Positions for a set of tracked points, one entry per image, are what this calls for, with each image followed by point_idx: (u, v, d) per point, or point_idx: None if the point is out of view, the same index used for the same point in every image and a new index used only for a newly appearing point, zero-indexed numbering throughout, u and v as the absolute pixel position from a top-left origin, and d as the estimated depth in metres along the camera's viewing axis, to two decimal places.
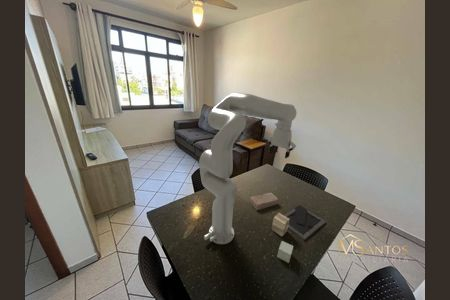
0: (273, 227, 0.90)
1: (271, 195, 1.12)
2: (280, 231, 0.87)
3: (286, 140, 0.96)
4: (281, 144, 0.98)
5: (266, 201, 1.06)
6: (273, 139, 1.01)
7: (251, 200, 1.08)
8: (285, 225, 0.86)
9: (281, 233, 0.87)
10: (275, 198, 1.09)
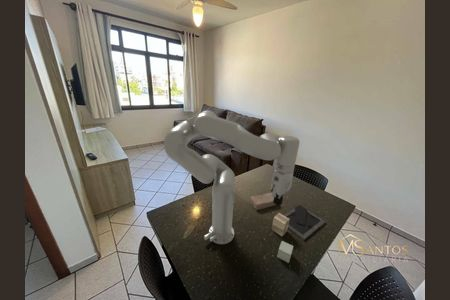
0: (273, 227, 0.90)
1: None
2: (280, 231, 0.87)
3: None
4: (288, 187, 0.74)
5: (266, 201, 1.06)
6: (282, 189, 0.70)
7: (251, 200, 1.08)
8: (285, 225, 0.86)
9: (281, 233, 0.87)
10: None
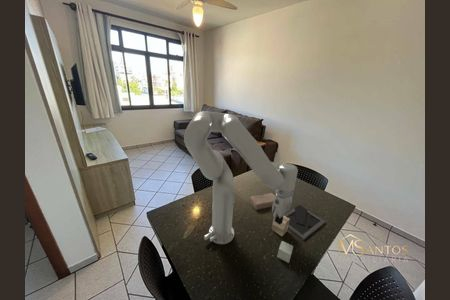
0: (273, 227, 0.90)
1: (272, 195, 1.11)
2: (280, 231, 0.87)
3: (291, 201, 0.82)
4: (288, 208, 0.81)
5: (266, 201, 1.06)
6: (282, 211, 0.77)
7: (251, 199, 1.08)
8: (285, 225, 0.86)
9: (281, 233, 0.87)
10: None
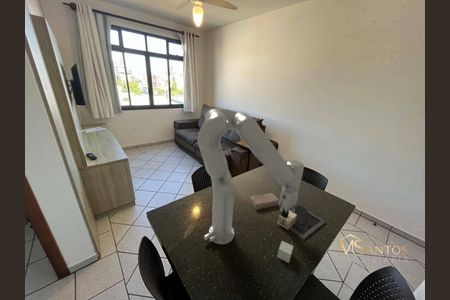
0: None
1: (272, 196, 1.11)
2: (289, 218, 0.90)
3: None
4: (294, 203, 0.85)
5: (266, 201, 1.06)
6: (289, 205, 0.81)
7: (251, 199, 1.08)
8: (294, 218, 0.92)
9: (290, 220, 0.89)
10: (275, 199, 1.08)
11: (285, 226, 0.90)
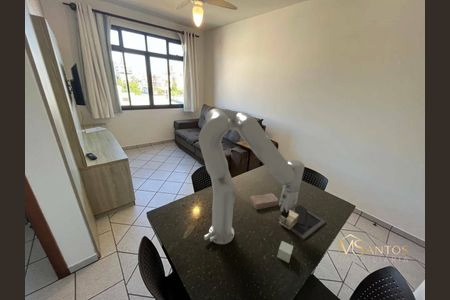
0: None
1: (272, 196, 1.11)
2: (291, 218, 0.90)
3: (297, 195, 0.86)
4: (294, 203, 0.86)
5: (266, 201, 1.06)
6: (289, 205, 0.82)
7: (251, 199, 1.08)
8: (296, 218, 0.92)
9: (291, 220, 0.89)
10: (276, 199, 1.08)
11: (287, 226, 0.90)
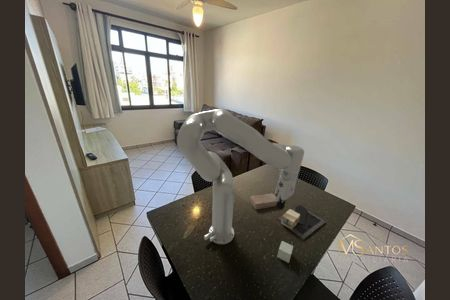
0: (285, 214, 0.92)
1: (272, 196, 1.11)
2: (293, 218, 0.90)
3: None
4: (291, 193, 0.80)
5: (266, 201, 1.06)
6: (286, 194, 0.75)
7: (251, 199, 1.09)
8: (298, 218, 0.92)
9: (293, 219, 0.89)
10: None
11: (289, 226, 0.90)
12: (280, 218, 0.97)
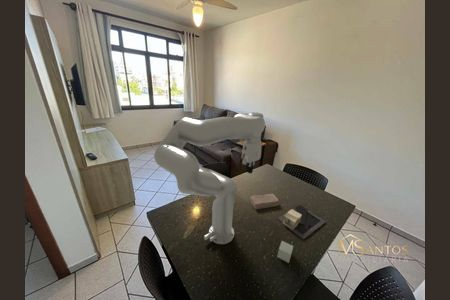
0: (287, 214, 0.92)
1: (272, 196, 1.11)
2: (295, 218, 0.90)
3: (260, 150, 0.88)
4: (257, 157, 0.87)
5: (266, 201, 1.06)
6: (250, 157, 0.84)
7: (251, 199, 1.09)
8: (299, 218, 0.92)
9: (295, 220, 0.89)
10: (276, 199, 1.08)
11: (290, 226, 0.90)
12: (280, 218, 0.97)
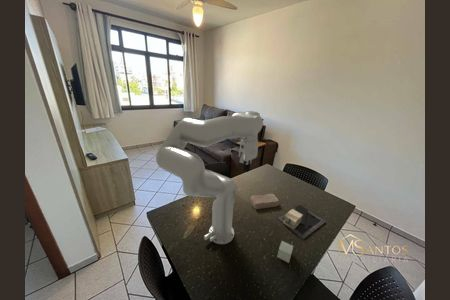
0: (288, 214, 0.93)
1: (272, 196, 1.11)
2: (295, 218, 0.90)
3: (257, 149, 0.89)
4: (254, 155, 0.89)
5: (265, 201, 1.06)
6: (247, 155, 0.85)
7: (251, 199, 1.09)
8: (300, 218, 0.93)
9: (296, 219, 0.90)
10: (276, 199, 1.08)
11: (291, 226, 0.91)
12: (280, 218, 0.98)
